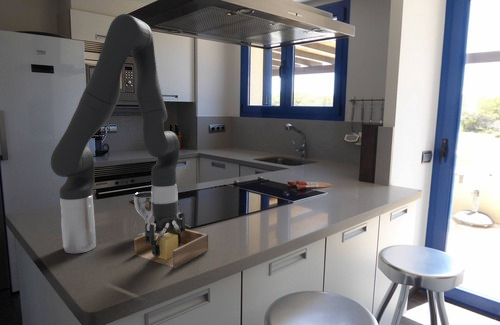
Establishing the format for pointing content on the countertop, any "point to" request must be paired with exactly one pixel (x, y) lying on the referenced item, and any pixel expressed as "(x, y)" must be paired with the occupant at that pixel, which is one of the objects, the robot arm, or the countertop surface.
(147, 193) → the wine glass
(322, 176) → the countertop surface
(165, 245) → the block
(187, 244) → the box
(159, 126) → the robot arm
